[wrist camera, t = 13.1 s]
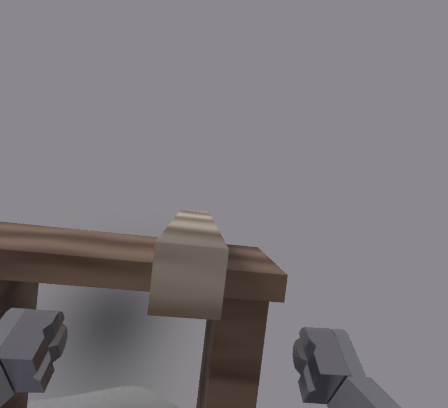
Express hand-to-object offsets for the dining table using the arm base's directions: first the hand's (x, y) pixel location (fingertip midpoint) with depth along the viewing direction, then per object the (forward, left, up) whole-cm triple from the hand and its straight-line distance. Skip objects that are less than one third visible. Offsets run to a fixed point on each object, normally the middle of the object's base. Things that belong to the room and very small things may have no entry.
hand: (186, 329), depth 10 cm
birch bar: (-3, +11, 0) cm, 12 cm away
